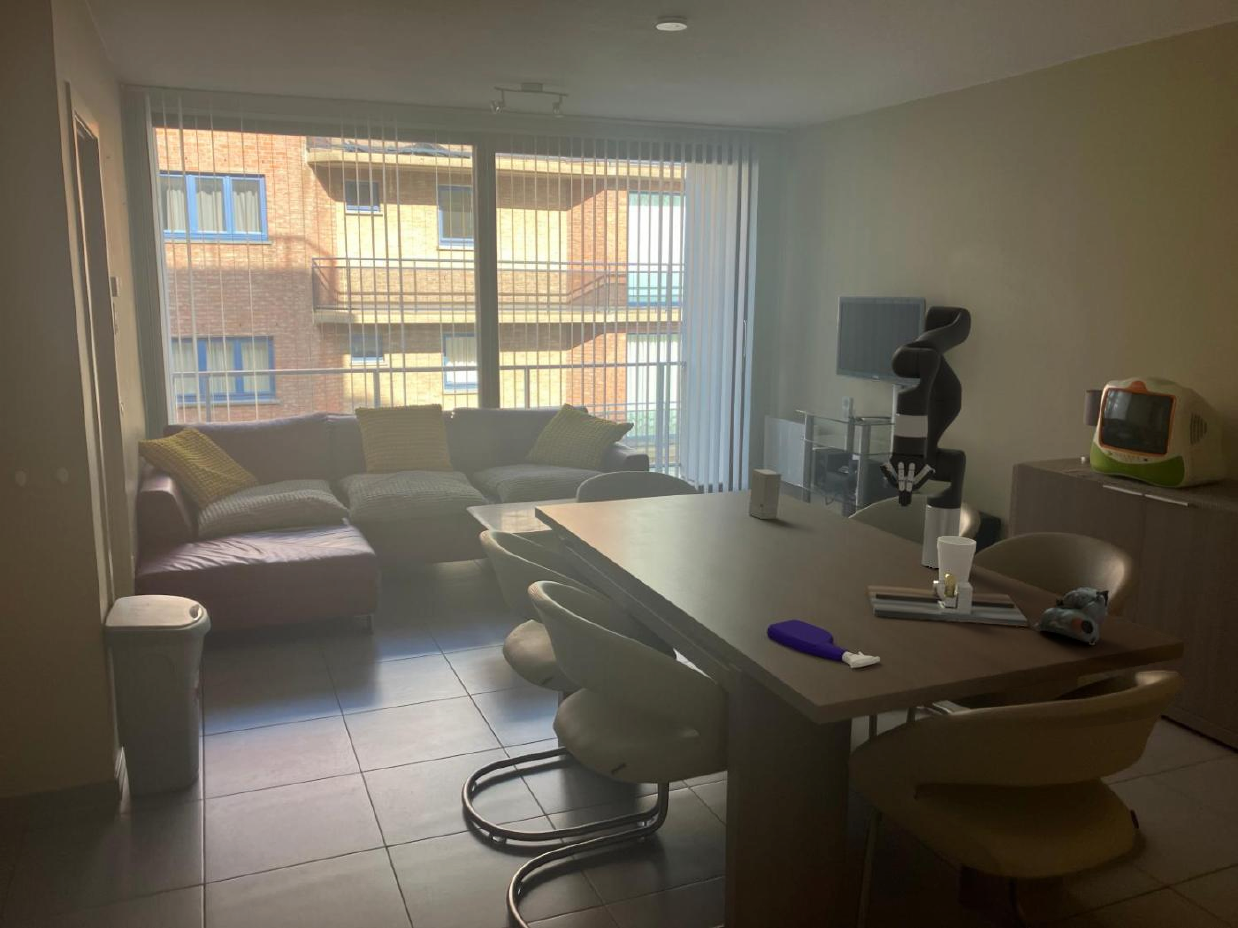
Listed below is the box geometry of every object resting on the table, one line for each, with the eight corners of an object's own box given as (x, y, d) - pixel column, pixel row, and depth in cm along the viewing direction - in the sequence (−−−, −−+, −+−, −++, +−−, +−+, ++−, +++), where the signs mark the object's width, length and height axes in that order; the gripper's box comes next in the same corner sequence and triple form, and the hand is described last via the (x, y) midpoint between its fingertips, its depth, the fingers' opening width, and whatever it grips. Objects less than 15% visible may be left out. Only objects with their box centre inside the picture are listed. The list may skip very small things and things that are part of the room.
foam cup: (946, 595, 251) (951, 545, 249) (926, 585, 260) (930, 536, 257) (979, 593, 253) (984, 544, 251) (958, 583, 262) (962, 535, 260)
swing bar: (931, 587, 247) (934, 559, 246) (946, 588, 247) (949, 560, 245) (942, 605, 232) (944, 576, 231) (958, 606, 231) (960, 577, 230)
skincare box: (748, 514, 341) (750, 469, 338) (765, 513, 344) (768, 468, 341) (761, 520, 333) (764, 473, 331) (779, 518, 336) (782, 472, 334)
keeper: (937, 605, 237) (939, 579, 236) (965, 607, 236) (968, 581, 235) (940, 613, 231) (943, 586, 230) (970, 615, 230) (972, 588, 229)
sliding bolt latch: (867, 590, 253) (868, 580, 253) (1007, 600, 248) (1008, 590, 247) (874, 615, 233) (875, 604, 232) (1027, 627, 227) (1028, 615, 227)
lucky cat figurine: (1026, 626, 228) (1052, 571, 229) (1076, 651, 226) (1102, 596, 227) (1048, 628, 213) (1076, 570, 214) (1102, 654, 211) (1129, 596, 212)
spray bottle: (762, 625, 215) (849, 661, 196) (798, 617, 222) (886, 651, 202) (762, 638, 216) (848, 675, 196) (797, 630, 222) (884, 665, 203)
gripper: (878, 433, 232) (873, 505, 235) (937, 437, 227) (931, 512, 229) (884, 429, 239) (879, 500, 242) (941, 434, 233) (936, 506, 236)
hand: (904, 505), depth 235 cm, fingers closed
